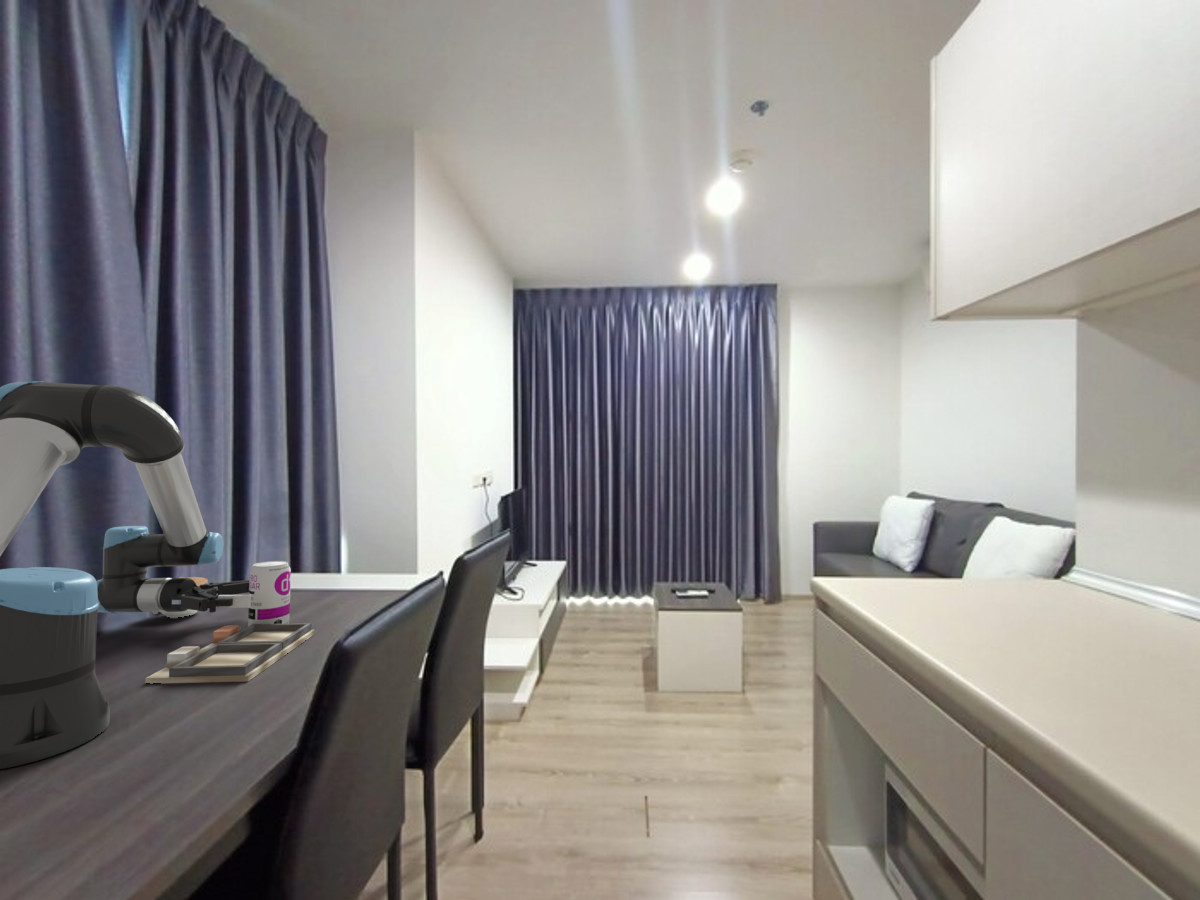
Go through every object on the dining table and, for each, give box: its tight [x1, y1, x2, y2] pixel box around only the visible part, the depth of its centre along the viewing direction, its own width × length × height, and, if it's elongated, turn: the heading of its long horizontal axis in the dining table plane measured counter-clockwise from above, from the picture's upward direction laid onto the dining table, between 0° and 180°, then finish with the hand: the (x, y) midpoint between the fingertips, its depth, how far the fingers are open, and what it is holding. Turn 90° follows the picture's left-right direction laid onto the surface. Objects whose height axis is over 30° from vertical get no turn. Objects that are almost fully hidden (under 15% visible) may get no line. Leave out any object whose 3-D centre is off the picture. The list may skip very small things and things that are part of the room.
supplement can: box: [247, 560, 292, 627], centre depth 123 cm, size 8×8×15 cm
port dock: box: [144, 622, 316, 685], centre depth 105 cm, size 26×17×4 cm, turn 5°
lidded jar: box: [160, 576, 209, 619], centre depth 132 cm, size 11×11×9 cm
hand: (266, 593), depth 123 cm, fingers open, 13 cm apart
